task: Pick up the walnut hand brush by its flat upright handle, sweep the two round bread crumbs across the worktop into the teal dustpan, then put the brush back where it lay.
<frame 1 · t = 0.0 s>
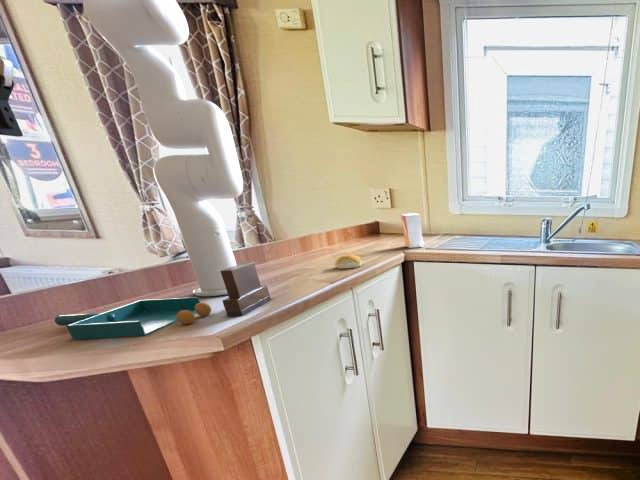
crumb b: (188, 324, 84), on the countertop
bread roll: (349, 267, 140), on the countertop
brush: (250, 307, 94), on the countertop
crumb a: (205, 315, 89), on the countertop
dustpan: (145, 322, 86), on the countertop
small box: (414, 247, 182), on the countertop
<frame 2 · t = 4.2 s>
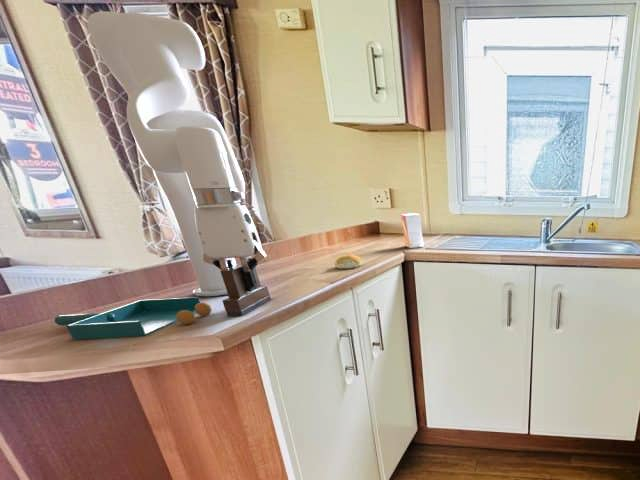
hand: (245, 289, 92), 4 cm above the countertop, tool pointing down, fingers closed on brush, 2 cm apart
brush: (250, 307, 94), on the countertop, touching gripper
everything else where it was.
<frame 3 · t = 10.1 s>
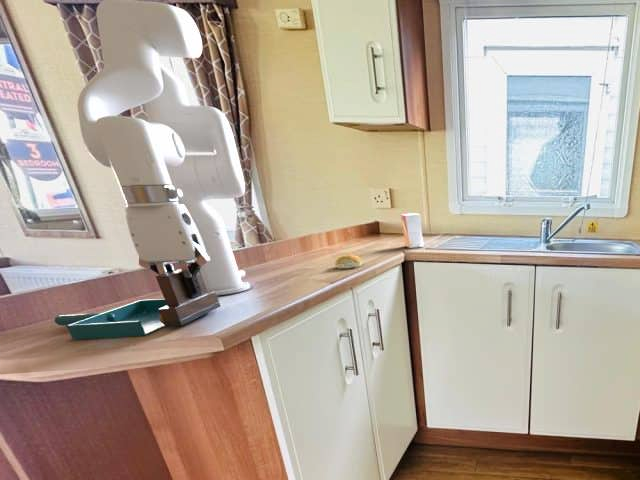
hand: (187, 296, 84), 5 cm above the countertop, tool pointing down, fingers closed on brush, 2 cm apart
crumb b: (172, 313, 82), point 2 cm above the countertop, tilted 132°
brush: (195, 315, 86), point 1 cm above the countertop, touching gripper
crumb a: (191, 305, 88), point 2 cm above the countertop, tilted 127°
everything else where it was.
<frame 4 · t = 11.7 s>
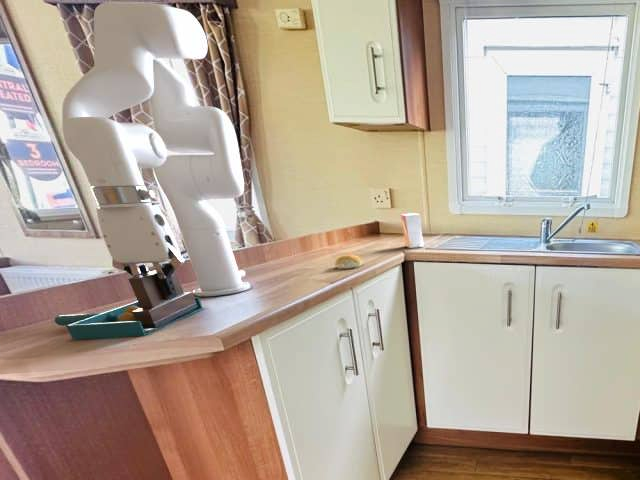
hand: (162, 297, 84), 5 cm above the countertop, tool pointing down, fingers closed on brush, 2 cm apart
crumb b: (136, 322, 82), point 1 cm above the countertop, tilted 66°, touching dustpan
brush: (170, 317, 86), point 1 cm above the countertop, touching gripper
crumb a: (132, 306, 86), point 3 cm above the countertop, tilted 163°, touching dustpan
everything else where it was.
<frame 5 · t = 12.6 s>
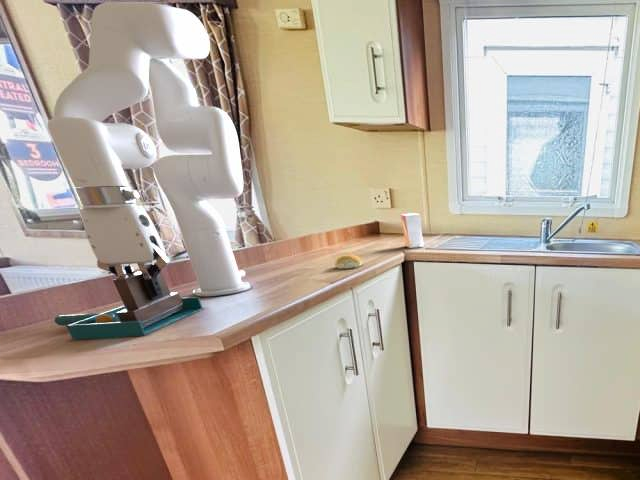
hand: (148, 298, 84), 5 cm above the countertop, tool pointing down, fingers closed on brush, 2 cm apart
crumb b: (97, 317, 81), point 2 cm above the countertop, tilted 128°, touching dustpan
brush: (156, 318, 85), point 1 cm above the countertop, touching gripper
crumb a: (150, 312, 87), point 1 cm above the countertop, tilted 83°, touching dustpan
everything else where it was.
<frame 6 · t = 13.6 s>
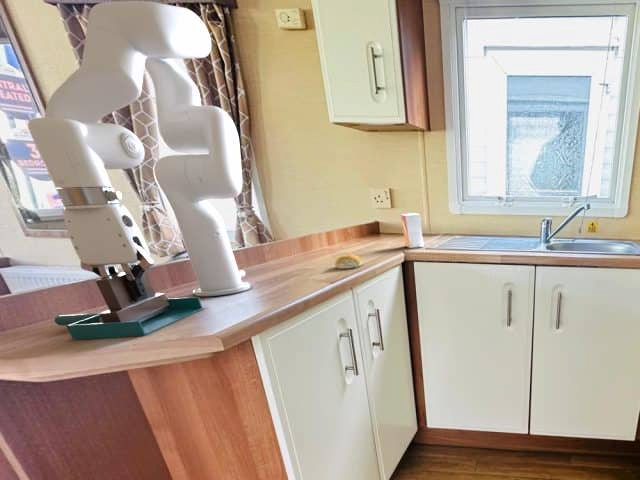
hand: (132, 299, 84), 5 cm above the countertop, tool pointing down, fingers closed on brush, 2 cm apart
crumb b: (103, 315, 81), point 3 cm above the countertop, tilted 158°, touching dustpan
brush: (141, 318, 85), point 1 cm above the countertop, touching gripper
crumb a: (122, 307, 86), point 3 cm above the countertop, tilted 158°, touching dustpan
everything else where it was.
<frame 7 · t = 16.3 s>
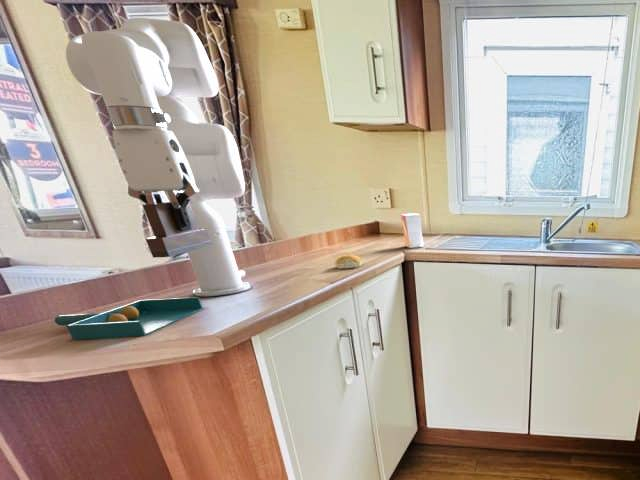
hand: (177, 229, 83), 17 cm above the countertop, tool pointing down, fingers closed on brush
crumb b: (120, 315, 81), point 3 cm above the countertop, tilted 138°, touching dustpan
brush: (184, 250, 85), point 13 cm above the countertop, touching gripper
crumb a: (125, 306, 86), point 3 cm above the countertop, tilted 166°, touching dustpan
everything else where it was.
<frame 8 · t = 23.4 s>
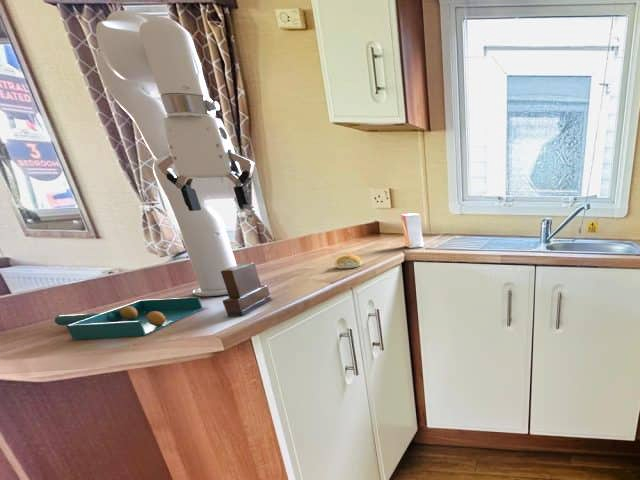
hand: (220, 209, 85), 20 cm above the countertop, tool pointing down, fingers open, 9 cm apart
crumb b: (149, 312, 81), point 3 cm above the countertop, tilted 150°, touching dustpan
brush: (251, 307, 94), on the countertop
crumb a: (122, 307, 86), point 3 cm above the countertop, tilted 157°, touching dustpan
everything else where it was.
at the end: crumb a inside the target area in the dustpan (5.5 cm from its centre), point 2.9 cm above the dustpan's base; crumb b inside the target area in the dustpan (5.9 cm from its centre), point 2.9 cm above the dustpan's base; the gripper is holding nothing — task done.
